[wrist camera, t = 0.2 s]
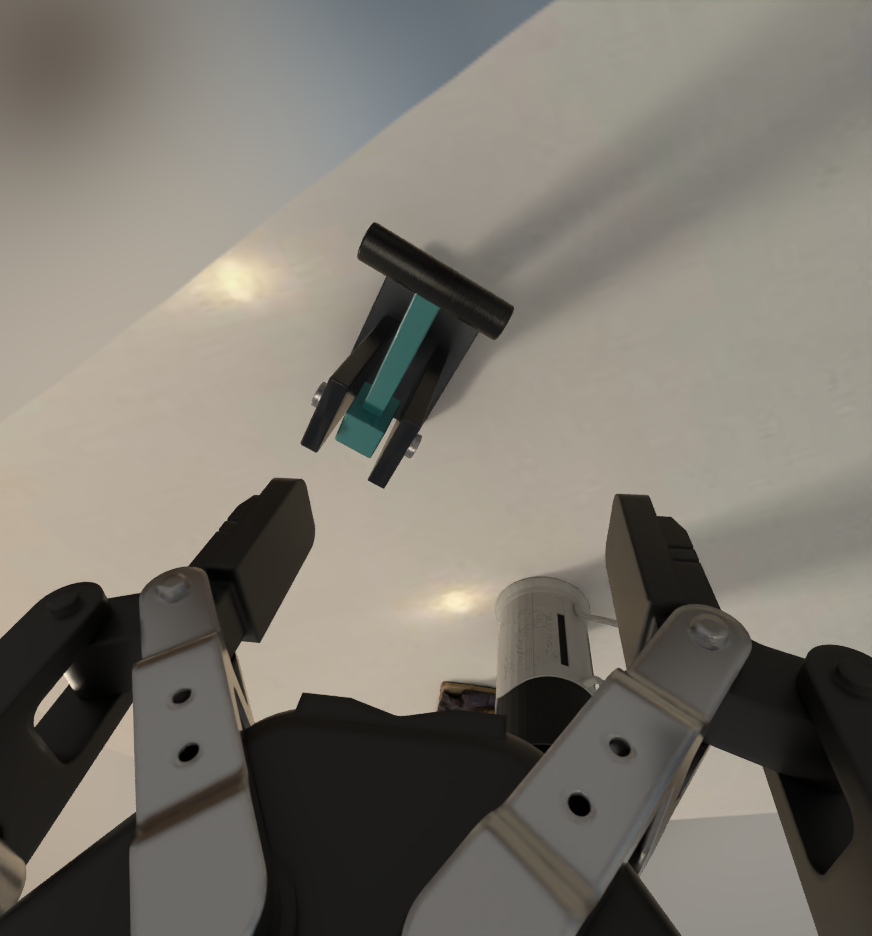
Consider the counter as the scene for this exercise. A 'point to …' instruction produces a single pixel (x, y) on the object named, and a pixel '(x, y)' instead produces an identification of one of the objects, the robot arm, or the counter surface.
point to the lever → (412, 327)
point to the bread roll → (467, 698)
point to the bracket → (416, 387)
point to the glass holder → (543, 658)
